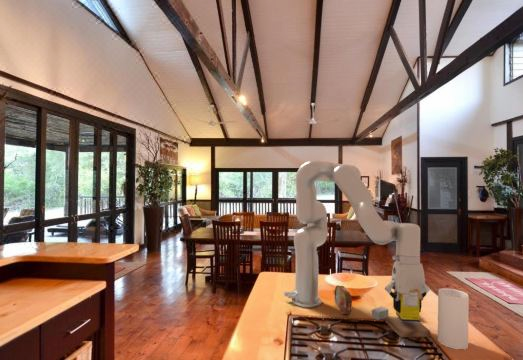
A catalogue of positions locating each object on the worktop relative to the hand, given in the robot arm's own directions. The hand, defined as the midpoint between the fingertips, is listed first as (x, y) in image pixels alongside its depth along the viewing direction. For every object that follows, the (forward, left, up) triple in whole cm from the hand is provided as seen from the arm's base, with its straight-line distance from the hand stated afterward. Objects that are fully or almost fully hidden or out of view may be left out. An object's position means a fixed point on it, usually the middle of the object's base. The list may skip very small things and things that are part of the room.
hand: (407, 310), depth 105 cm
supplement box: (0, 0, -3) cm, 3 cm away
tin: (-17, +17, -7) cm, 25 cm away
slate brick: (-5, +10, -7) cm, 13 cm away
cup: (+10, -9, -7) cm, 15 cm away
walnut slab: (0, 0, -7) cm, 7 cm away
